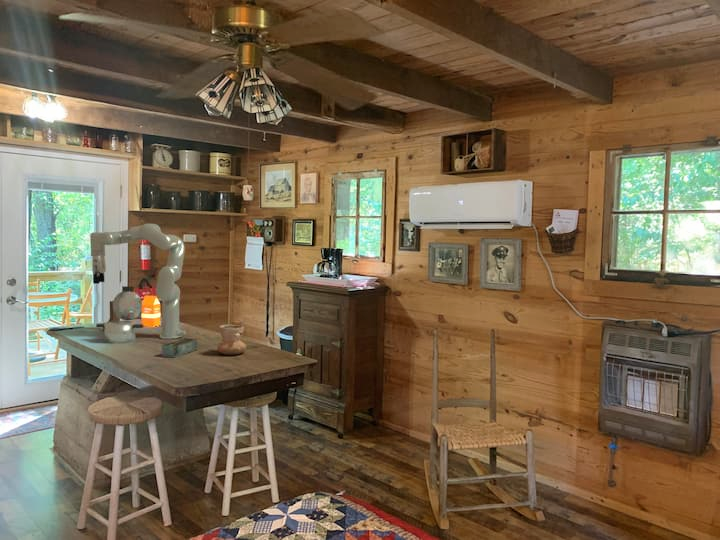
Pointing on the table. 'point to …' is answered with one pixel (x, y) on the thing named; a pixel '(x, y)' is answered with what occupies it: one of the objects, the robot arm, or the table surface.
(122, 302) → the lid
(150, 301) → the orange juice
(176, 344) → the grey-green rectangular block
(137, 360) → the table surface
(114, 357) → the table surface
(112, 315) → the wooden block
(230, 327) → the ceramic jug
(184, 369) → the table surface
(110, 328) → the pot
